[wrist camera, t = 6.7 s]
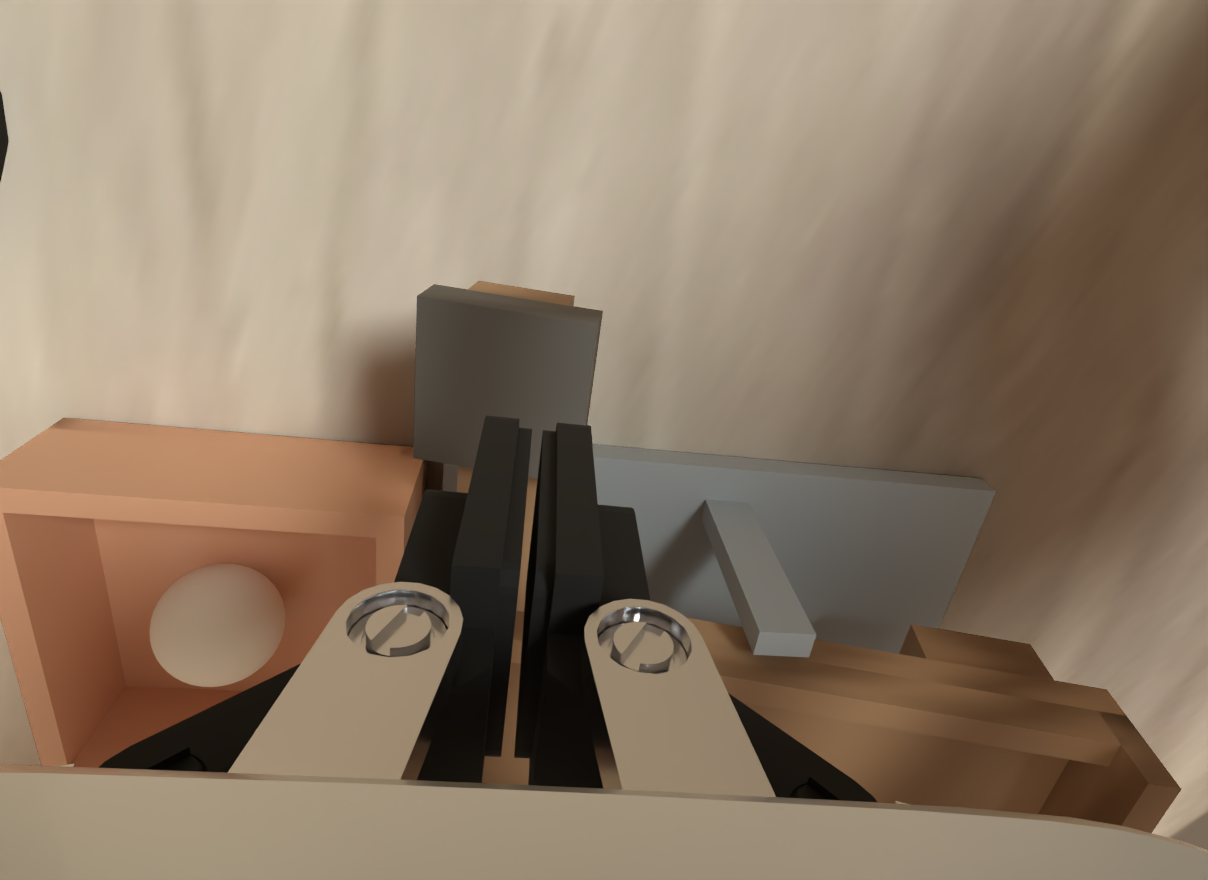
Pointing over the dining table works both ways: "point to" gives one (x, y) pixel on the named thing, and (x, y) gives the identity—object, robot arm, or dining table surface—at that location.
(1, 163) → the wine bottle
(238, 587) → the ball
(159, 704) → the pink hollow square tray
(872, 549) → the stand
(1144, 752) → the lever
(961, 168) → the dining table surface
